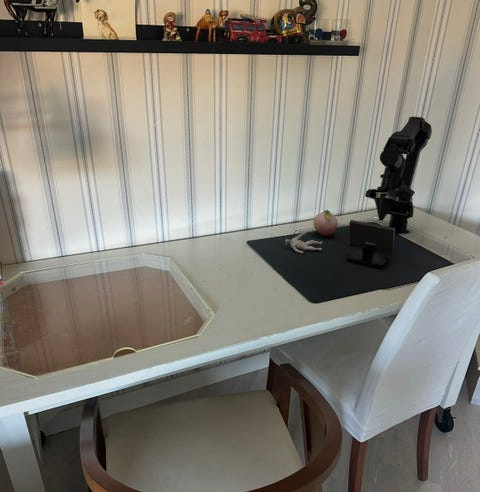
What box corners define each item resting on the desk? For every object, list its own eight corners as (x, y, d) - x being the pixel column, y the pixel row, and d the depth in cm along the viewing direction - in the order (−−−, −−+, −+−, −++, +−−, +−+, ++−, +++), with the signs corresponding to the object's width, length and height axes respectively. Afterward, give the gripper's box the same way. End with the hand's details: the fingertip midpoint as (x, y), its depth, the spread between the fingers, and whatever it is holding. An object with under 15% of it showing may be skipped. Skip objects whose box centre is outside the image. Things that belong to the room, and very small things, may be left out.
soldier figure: (321, 257, 162) (288, 247, 160) (314, 262, 167) (282, 252, 164) (323, 236, 165) (291, 226, 162) (317, 241, 170) (285, 231, 167)
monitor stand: (355, 253, 164) (357, 238, 162) (388, 260, 159) (391, 245, 157) (347, 261, 157) (349, 246, 155) (380, 269, 152) (383, 253, 150)
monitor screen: (351, 243, 162) (350, 219, 155) (393, 252, 155) (395, 228, 148) (349, 247, 161) (348, 222, 154) (391, 256, 154) (393, 231, 147)
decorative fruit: (309, 231, 182) (312, 205, 178) (331, 231, 183) (334, 205, 178) (315, 240, 173) (318, 213, 169) (338, 240, 174) (341, 213, 170)
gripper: (431, 178, 152) (418, 227, 153) (397, 180, 170) (386, 224, 171) (401, 168, 149) (388, 219, 150) (370, 172, 167) (358, 217, 168)
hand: (380, 220), depth 160 cm, fingers closed
